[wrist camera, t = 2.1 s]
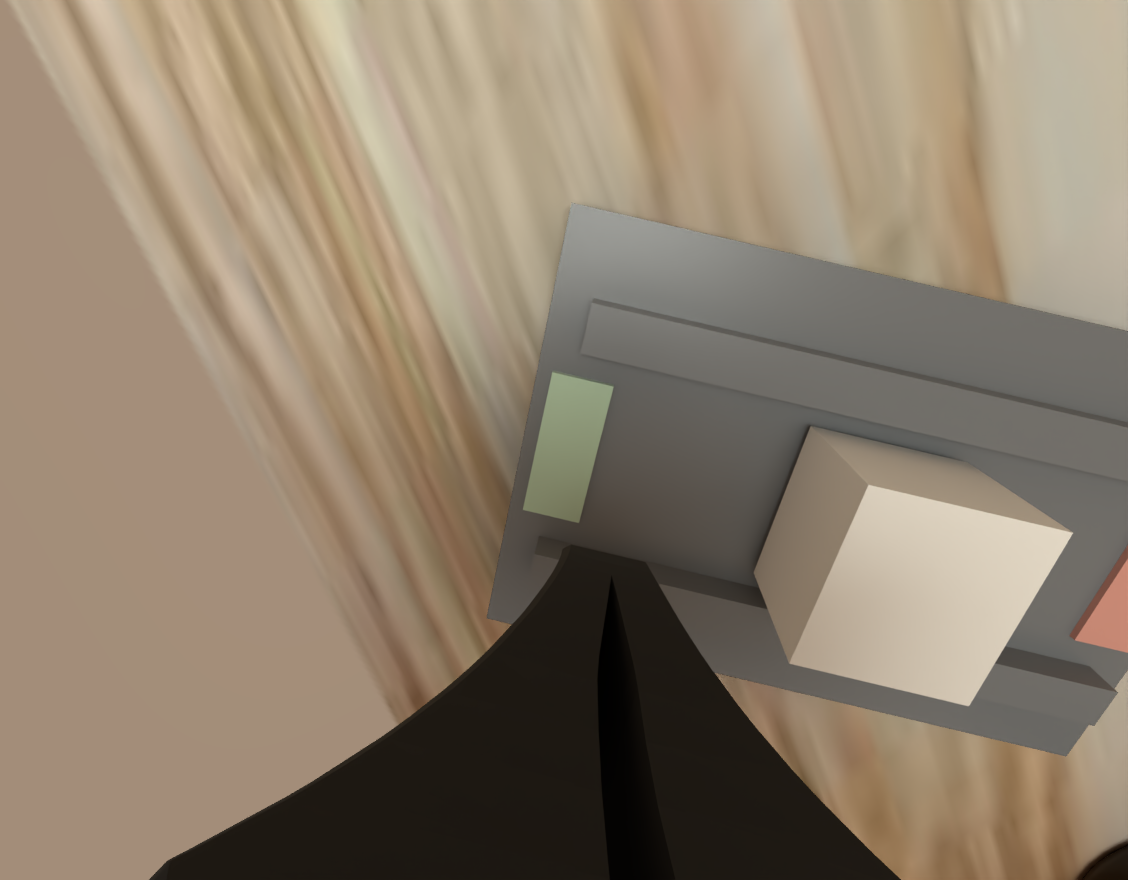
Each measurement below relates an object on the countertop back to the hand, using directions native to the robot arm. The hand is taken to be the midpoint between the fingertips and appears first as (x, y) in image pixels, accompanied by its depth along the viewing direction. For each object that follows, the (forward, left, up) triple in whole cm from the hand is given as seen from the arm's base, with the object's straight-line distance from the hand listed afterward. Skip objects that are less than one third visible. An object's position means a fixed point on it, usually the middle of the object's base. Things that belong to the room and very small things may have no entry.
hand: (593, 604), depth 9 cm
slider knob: (0, -7, -6) cm, 9 cm away
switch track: (0, -7, -8) cm, 11 cm away
